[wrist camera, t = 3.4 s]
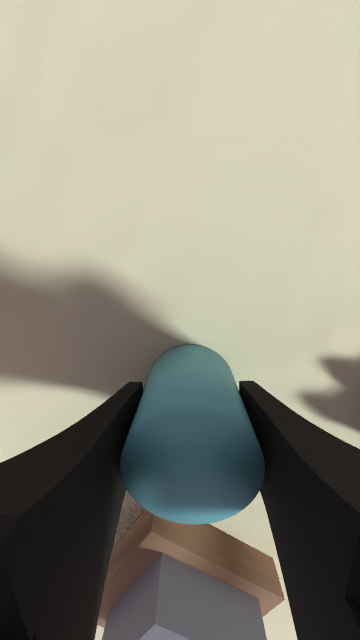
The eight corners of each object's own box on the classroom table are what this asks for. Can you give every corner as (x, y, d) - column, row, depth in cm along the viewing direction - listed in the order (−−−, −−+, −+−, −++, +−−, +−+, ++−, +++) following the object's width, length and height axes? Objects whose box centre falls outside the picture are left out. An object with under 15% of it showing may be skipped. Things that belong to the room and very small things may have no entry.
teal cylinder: (133, 393, 12) (95, 484, 7) (178, 328, 11) (169, 381, 6) (201, 433, 12) (209, 543, 8) (250, 374, 11) (295, 457, 7)
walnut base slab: (93, 563, 16) (77, 615, 14) (157, 486, 14) (151, 531, 12) (195, 611, 17) (196, 668, 15) (269, 546, 15) (284, 599, 13)
